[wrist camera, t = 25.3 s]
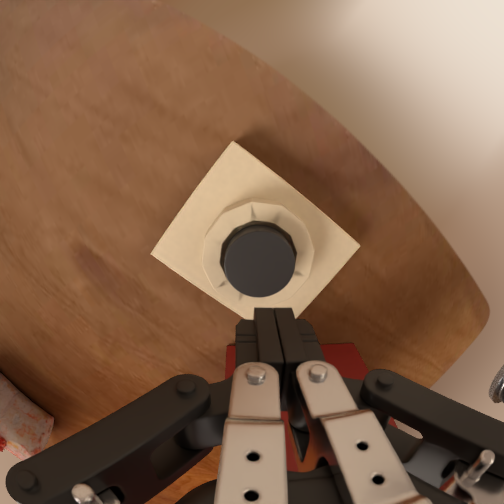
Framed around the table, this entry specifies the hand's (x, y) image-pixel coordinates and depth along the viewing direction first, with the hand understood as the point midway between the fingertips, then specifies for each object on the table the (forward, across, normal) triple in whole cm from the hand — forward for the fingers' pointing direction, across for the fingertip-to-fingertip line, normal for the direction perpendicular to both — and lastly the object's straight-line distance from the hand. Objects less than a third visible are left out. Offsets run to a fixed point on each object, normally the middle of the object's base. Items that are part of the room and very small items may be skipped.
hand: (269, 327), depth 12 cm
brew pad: (+12, 0, 0) cm, 12 cm away
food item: (+13, +32, +24) cm, 42 cm away
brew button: (+9, 0, 0) cm, 9 cm away
